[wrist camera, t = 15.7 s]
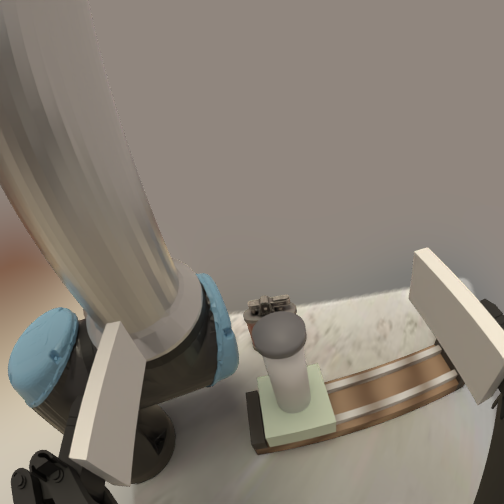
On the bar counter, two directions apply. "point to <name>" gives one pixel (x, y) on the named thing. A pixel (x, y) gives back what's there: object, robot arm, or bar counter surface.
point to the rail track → (373, 395)
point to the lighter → (266, 309)
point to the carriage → (290, 383)
